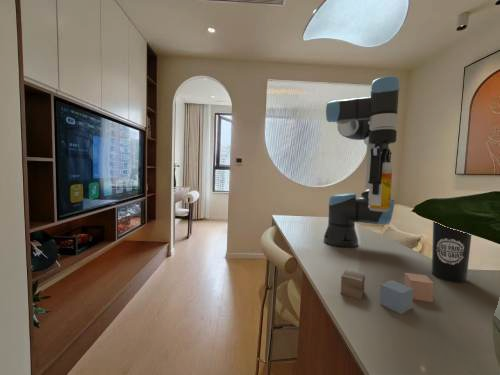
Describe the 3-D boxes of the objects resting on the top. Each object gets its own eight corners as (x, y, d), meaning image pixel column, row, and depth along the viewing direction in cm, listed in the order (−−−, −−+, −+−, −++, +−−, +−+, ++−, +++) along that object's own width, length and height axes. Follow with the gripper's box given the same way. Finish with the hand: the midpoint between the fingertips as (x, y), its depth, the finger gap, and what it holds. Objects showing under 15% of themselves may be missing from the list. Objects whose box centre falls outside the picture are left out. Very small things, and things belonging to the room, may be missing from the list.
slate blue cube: (390, 298, 61) (391, 280, 61) (412, 308, 57) (413, 288, 57) (379, 304, 59) (380, 284, 58) (401, 314, 54) (402, 293, 54)
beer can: (393, 212, 71) (395, 162, 70) (371, 211, 72) (373, 162, 71) (385, 209, 77) (388, 163, 76) (365, 208, 78) (367, 163, 77)
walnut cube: (344, 286, 68) (345, 269, 67) (364, 292, 65) (364, 274, 64) (340, 294, 63) (341, 275, 63) (361, 299, 61) (361, 280, 60)
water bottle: (426, 276, 75) (431, 205, 74) (430, 267, 83) (434, 202, 82) (470, 287, 68) (475, 208, 67) (470, 276, 76) (475, 205, 75)
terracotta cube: (404, 290, 66) (404, 272, 66) (425, 293, 65) (426, 275, 64) (409, 298, 62) (410, 280, 61) (432, 302, 60) (433, 283, 60)
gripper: (378, 135, 83) (375, 201, 84) (359, 127, 69) (355, 205, 70) (403, 133, 77) (399, 203, 79) (388, 123, 64) (383, 208, 65)
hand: (378, 204), depth 74 cm, fingers closed on beer can, 6 cm apart
